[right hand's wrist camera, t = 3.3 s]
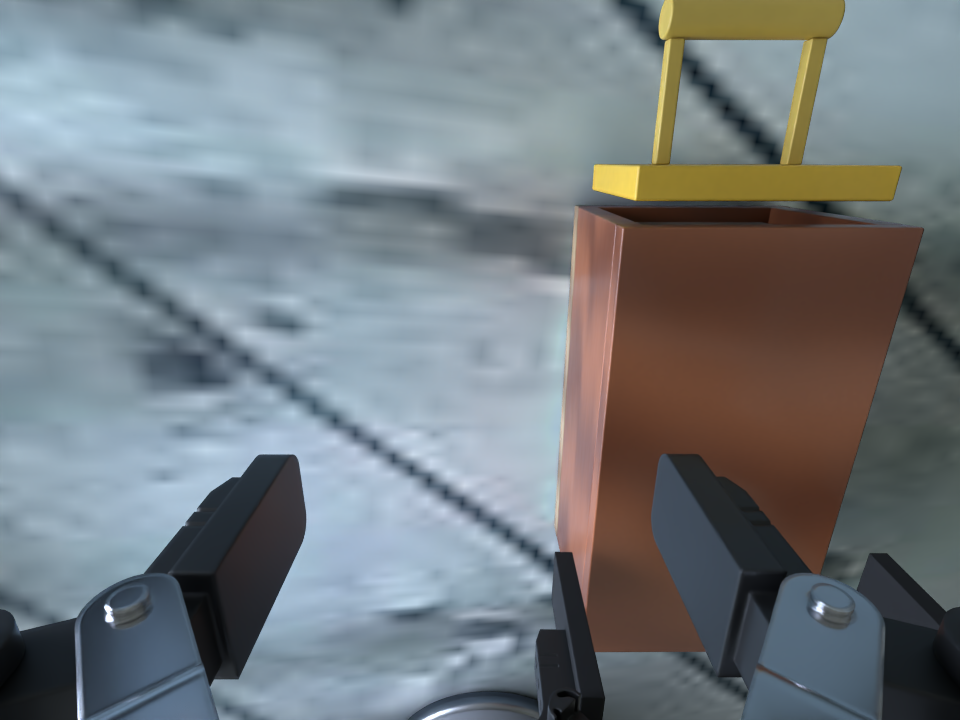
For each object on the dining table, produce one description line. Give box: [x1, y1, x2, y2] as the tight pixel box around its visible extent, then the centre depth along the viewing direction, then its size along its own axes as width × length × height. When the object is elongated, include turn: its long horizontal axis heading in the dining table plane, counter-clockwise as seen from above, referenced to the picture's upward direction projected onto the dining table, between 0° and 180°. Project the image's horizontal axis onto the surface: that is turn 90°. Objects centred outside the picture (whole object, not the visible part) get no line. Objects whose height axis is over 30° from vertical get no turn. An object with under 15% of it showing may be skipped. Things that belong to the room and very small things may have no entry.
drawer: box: [593, 0, 902, 225], centre depth 24 cm, size 25×9×7 cm, turn 0°
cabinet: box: [554, 205, 924, 652], centre depth 26 cm, size 20×10×9 cm, turn 0°
